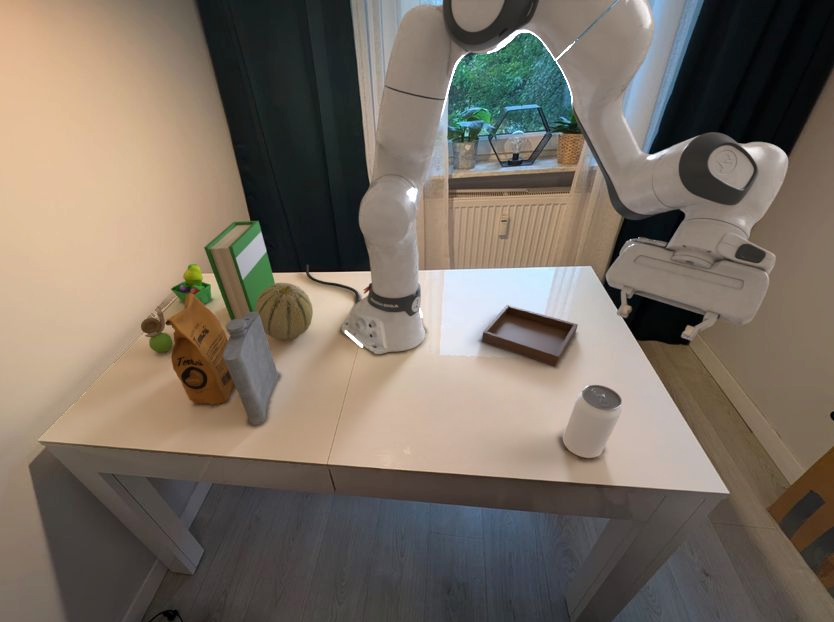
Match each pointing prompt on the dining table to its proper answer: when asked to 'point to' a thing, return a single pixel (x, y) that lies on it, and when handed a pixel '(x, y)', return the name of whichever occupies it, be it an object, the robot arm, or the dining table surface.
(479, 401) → the dining table surface
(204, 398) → the coffee package
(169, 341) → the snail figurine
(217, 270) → the hardback book
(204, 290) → the fruit basket
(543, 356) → the tray
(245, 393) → the hip flask
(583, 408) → the can
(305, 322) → the cantaloupe
